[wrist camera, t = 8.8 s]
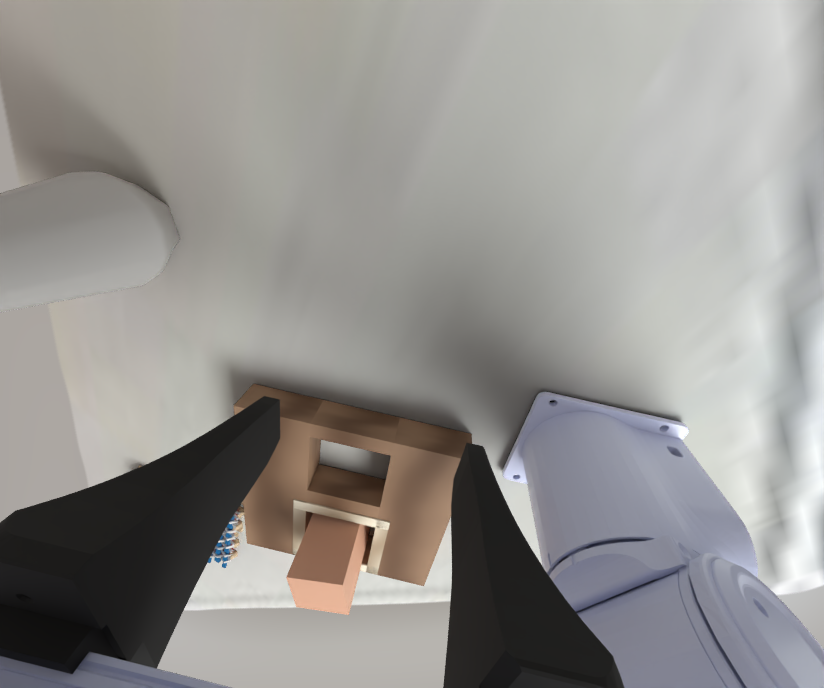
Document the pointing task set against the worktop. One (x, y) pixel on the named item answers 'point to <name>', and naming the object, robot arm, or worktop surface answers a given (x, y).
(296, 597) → the pin
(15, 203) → the salt shaker
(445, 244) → the worktop surface
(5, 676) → the robot arm
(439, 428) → the wooden peg board
